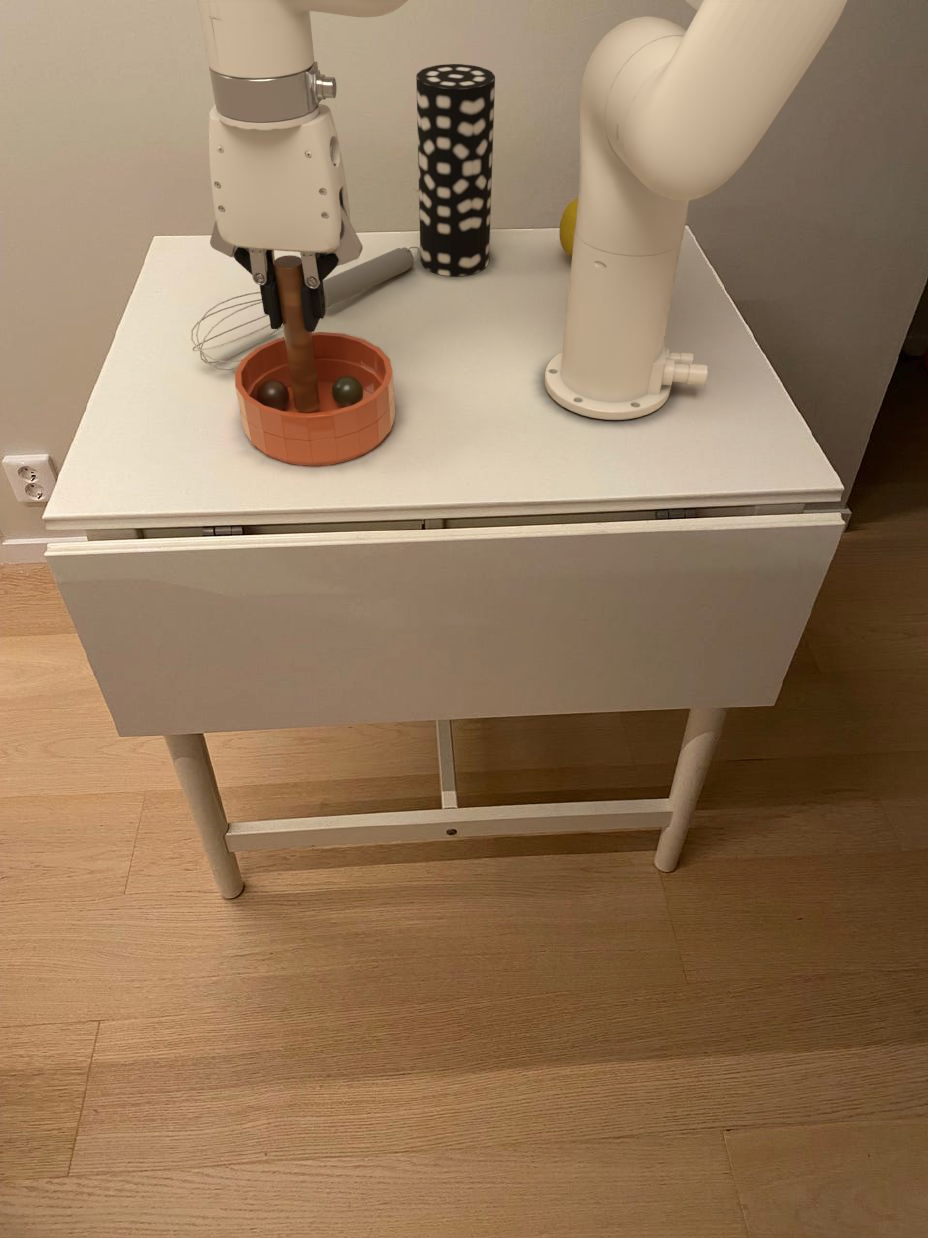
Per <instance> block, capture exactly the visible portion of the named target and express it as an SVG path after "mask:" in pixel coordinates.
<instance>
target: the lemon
mask: <svg viewBox="0 0 928 1238" xmlns="http://www.w3.org/2000/svg"><path fill="white" fill-rule="evenodd" d="M577 206H578V197H576V198H574V199H573V200H571V201H570V202H569V203H568V204H567V205H566V207H565V209H564V210H563V212H562V215H561V218H560V221H559V230H558V231H559V242H560V245H561V247H562V249H563V251H564V252H565V254H567V255H568V256H569V257H571V258H572V253H573V243H574V233H575V227H576V217H577Z"/></svg>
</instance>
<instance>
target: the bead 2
mask: <svg viewBox="0 0 928 1238" xmlns="http://www.w3.org/2000/svg"><path fill="white" fill-rule="evenodd" d="M332 397H333V399H334V401H335V402H336V403H337V404H338V405H339V406H341V407H343V408H345V407H348V406H352V405H354V404H356V403H358V402H360V401H361V400H362V398H363V387H362V385H361V383H360V382H359V381H358V380H357V379H356V378H354V377H351V376H343V377H340V378H339V379H337V380H336V381H335V383H334V384H333V387H332Z"/></svg>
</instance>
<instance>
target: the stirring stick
mask: <svg viewBox="0 0 928 1238" xmlns="http://www.w3.org/2000/svg"><path fill="white" fill-rule="evenodd" d="M274 267H275V274H276V281H277V288H278V295H279V302H280V309H281V316H282V326H283V327H282V329H283V337H285V343H286V350H287V357H288V364H289V371H290V378H291V385H292V392H293V399H294V406H295V408H296V409H297V410H298V411H301V412H312V411H315V410H317V409H318V408H319V406H320V399H319V390H318V382H317V374H316V365H315V357H314V349H313V341H312V333H313V332H307V330H305V326H304V319H303V311H302V303H301V295H300V289H301V287H302V285H303V284H304V281H303V278H304V272H303V266H302V260H301V256H298V255H291V254H290V255H289V254H288V255H281V256H279V257H277V258H275V261H274Z"/></svg>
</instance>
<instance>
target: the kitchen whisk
mask: <svg viewBox="0 0 928 1238" xmlns="http://www.w3.org/2000/svg"><path fill="white" fill-rule="evenodd" d="M411 249H417V253H416V255H415V256H414V254H413V252H412V250H411ZM419 254H420V247H418V246H410V247H397V248H395V249H392V250H391V251H388V252H386V253H384V254H381V255H379V256H376V257H374V258H371V259H369V260H368V261H364V262H362V263H360V264H358V265H355V266H353V267H351V268H349V269H346V270H344V271H341V272H340V273H337V274H335V275H332V276H330V277H327V278H325V279H324V280H323V287H324V296H325V306H326V309H327V308H328V307H331V306H333V305H335V304H337V303H339V302H341V301H345V300H347V299H348V298H350V297H353V296H355V295H357V294H360V293H361V292H364V291H366V290H369V289H370V288H372V287H374V286H376V285H379V284H381V283H383V282H385V281H388V280H390V279H392V278H394V277H396V276H398V275H401V274H403V273H405V272H407V271H408V270H409V269H410V268H411V267H413V266H414V263H415V259H416V258H417V256H418V255H419ZM257 294H261V291H256V292H250V293H244V294H241V295H237V296H233V297H230V298H228V299H225V300H224V301H220V302H219V303H217V304H215V305H214V306H213V307H211V308H209V309H208V310H206V312H205V313H204V314H203V316H202V317H201V318H200V319H199V320H198V321H197V322H196V323H195V324H194V326H193V327H192V329H191V330H190V340H191V342H192V344H193V345H194V346H193V347H192V349H191V351H192V352H199V357H200V360H201V361H202V362H203V363H206V364H208V365H210V366H211V367H213V368H214V369H216V370H218V371H228V372H230V371H236V370H237V368H238V366H237V367H234V368H233V367H232V368H220V367H217V366H216V365H213V364H217V363H224V364H225V363H241V361H242V360H243V358H241V359H238V360H229V359H230V358H233V357H235V356H237V355H240V354H242V353H243V352H245V351H247V350H248V349H251V348H252V347H254V346H255V345H257V344H259V343H260V342H262V341H264V340H266V339H267V338H269V337H270V336H272V335H273V334H275V333H276V332H279V331H280V330H282V329H283V325H281V327H280V328H278V329H275V330H274V331H272V332H270V334H268V335H266V336H265V337H263V338H261V339H260V340H258V341H256V342H255V343H253V344H252V345H249V346H248V347H246V348H244V349H242V350H241V351H239V352H237V353H234V354H232V355H230V356H227V357H224V358H222V359H218V358H214V357H211V356H210V355H208V354H206V353H205V352H204V351H208V350H211V349H215V348H219V347H223V346H225V345H228V344H230V343H233V342H236V341H239V340H241V339H243V338H246V337H248V336H250V335H253V334H255V333H257V332H259V331H261V330H264V329H266V328H269V327H271V325H270V323H269V324H267V325H265V326H263V327H261V328H258V329H256V330H254V331H252V332H249V333H248V334H245V335H243V336H239V337H237V338H235V339H232V340H229V341H227V342H223V343H221V344H218V345H214V346H210V347H207V348H203V346H204V344H205V343H207V342H209V341H210V340H213V339H215V338H219V337H220V336H222V335H224V334H227V333H229V332H231V331H234V330H236V329H238V328H241V327H243V326H245V325H249V324H250V323H251V324H252V323H253V322H256V321H258V320H261V319H264V318H266V317H269V315H266V314H264V315H263V316H260V317H257V318H255V319H252V320H250V321H248V322H245V323H242V324H240V325H237V326H235V327H233V328H230V329H228V330H226V331H224V332H221V333H219V334H217V335H214V336H212V337H209V338H207V337H208V336H209V334H210V333H211V332H212V331H213V329H215V328H216V327H217V326H218V325H219V324H220V323H222V322H223V321H224V320H226V319H228V318H229V317H231V316H233V315H235V314H236V313H239V312H241V311H243V310H245V309H247V308H250V307H253V306H256V305H258V304H259V305H260V304H262V298H258V299H254V300H250V301H245V302H241V303H237V304H234V305H230V306H227V307H224V308H221V309H219V310H216V311H214V312H211V311H212V310H214V309H215V308H217V307H218V306H220V305H222V304H224V303H227V302H229V301H231V300H235V299H238V298H243V297H246V296H250V295H257ZM247 304H248V305H247ZM242 305H246V306H244V307H242V308H240V309H237V310H235V311H234V312H232V313H230V314H228V315H226V316H225V317H223V318H221V320H219V321H218V322H217V323H216V324H214V325H213V326H212V327H211V328H210V329H209V331H208V332H207V333H206V334H205V336H204V337H203V340H202V341H201V342H200V341H199V336H198V334H199V329H200V325H201V322H202V321H204V320H206V319H207V318H209V317H211V316H213V315H215V314H217V313H220V312H223V311H225V310H229V309H232V308H235V307H238V306H242ZM210 312H211V313H210ZM208 313H209V314H208ZM196 327H197V328H196ZM195 329H196V333H195V337H196V341H197V343H196V342H195V341H194V339H193V335H194V333H193V332H194V330H195ZM206 338H207V339H206ZM206 357H207V358H209V359H210V360H212V361H209V360H208V359H207V358H206Z"/></svg>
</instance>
